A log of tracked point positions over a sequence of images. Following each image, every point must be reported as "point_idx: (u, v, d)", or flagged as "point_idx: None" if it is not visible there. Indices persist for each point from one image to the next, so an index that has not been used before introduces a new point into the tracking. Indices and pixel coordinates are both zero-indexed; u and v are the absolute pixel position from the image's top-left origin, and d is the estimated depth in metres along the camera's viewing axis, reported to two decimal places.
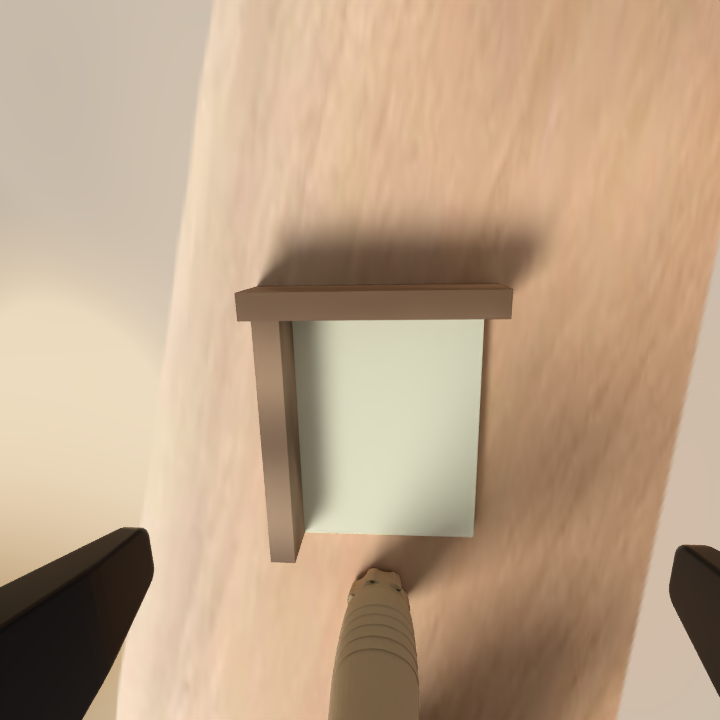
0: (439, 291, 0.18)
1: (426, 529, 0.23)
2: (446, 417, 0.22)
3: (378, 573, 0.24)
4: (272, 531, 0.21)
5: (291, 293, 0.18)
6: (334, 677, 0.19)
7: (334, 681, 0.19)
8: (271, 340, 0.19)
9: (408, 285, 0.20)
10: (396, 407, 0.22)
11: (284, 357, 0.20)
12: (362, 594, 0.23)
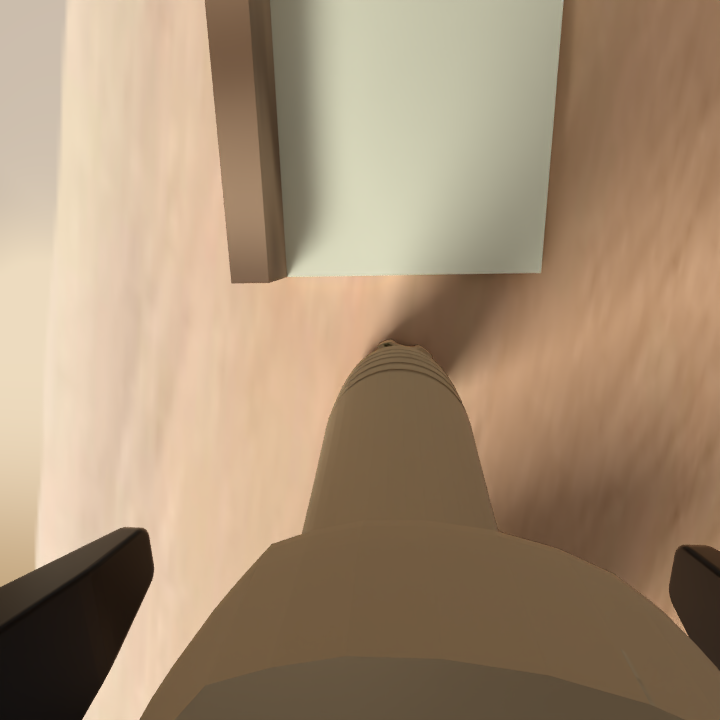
0: None
1: (469, 262, 0.15)
2: (507, 53, 0.14)
3: (396, 343, 0.16)
4: (231, 225, 0.13)
5: None
6: (330, 417, 0.11)
7: (329, 419, 0.11)
8: None
9: None
10: (428, 40, 0.14)
11: None
12: (373, 352, 0.15)
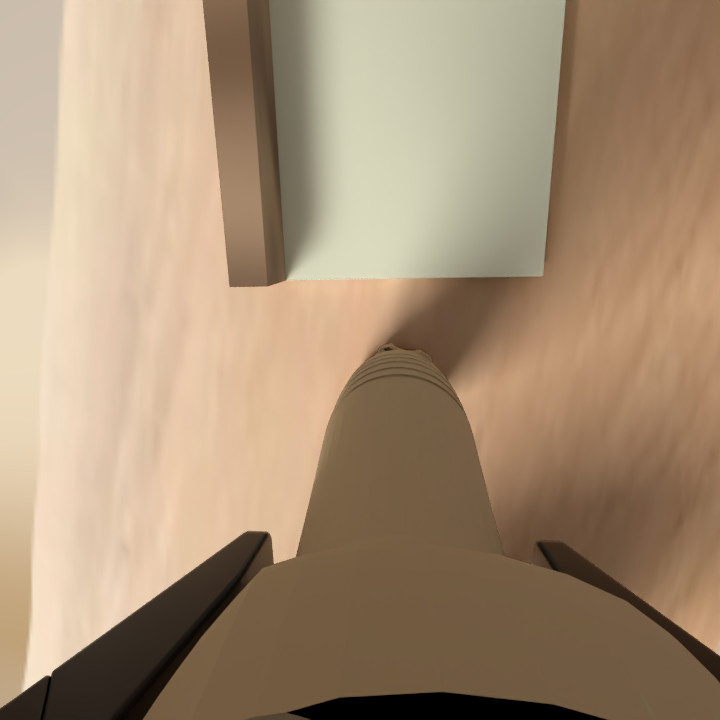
0: None
1: (471, 265, 0.15)
2: (508, 55, 0.14)
3: (396, 347, 0.16)
4: (229, 228, 0.13)
5: None
6: (329, 423, 0.11)
7: (328, 425, 0.11)
8: None
9: None
10: (428, 41, 0.14)
11: None
12: (373, 356, 0.15)
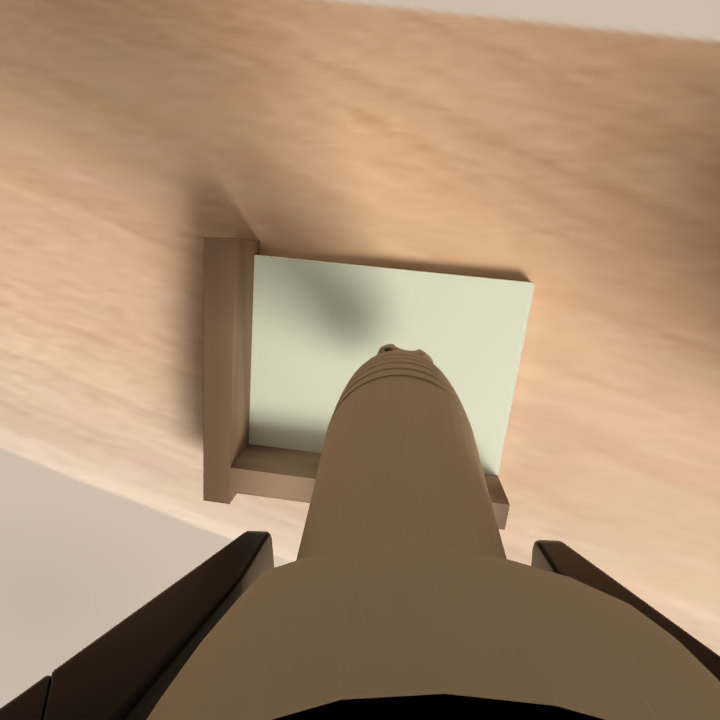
0: (204, 312, 0.18)
1: (514, 339, 0.19)
2: (370, 303, 0.19)
3: (397, 347, 0.16)
4: None
5: (204, 451, 0.19)
6: (329, 424, 0.11)
7: (329, 426, 0.11)
8: (249, 478, 0.19)
9: None
10: (354, 356, 0.20)
11: (273, 466, 0.20)
12: (374, 357, 0.15)
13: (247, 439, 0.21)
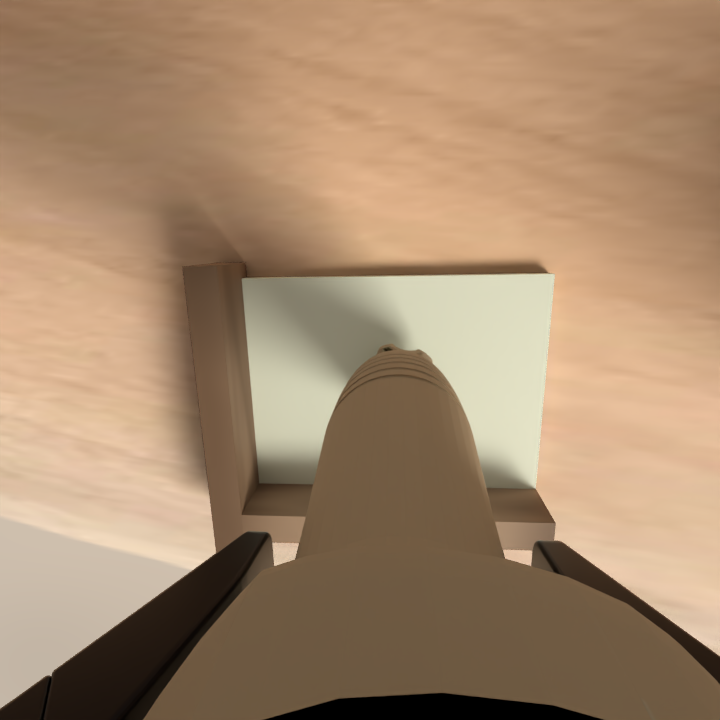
0: (193, 349, 0.16)
1: (538, 338, 0.17)
2: (375, 317, 0.17)
3: (396, 347, 0.16)
4: (506, 545, 0.17)
5: (210, 500, 0.17)
6: (328, 423, 0.11)
7: (328, 426, 0.11)
8: (263, 524, 0.17)
9: None
10: None
11: (288, 507, 0.18)
12: (373, 356, 0.15)
13: (257, 479, 0.19)
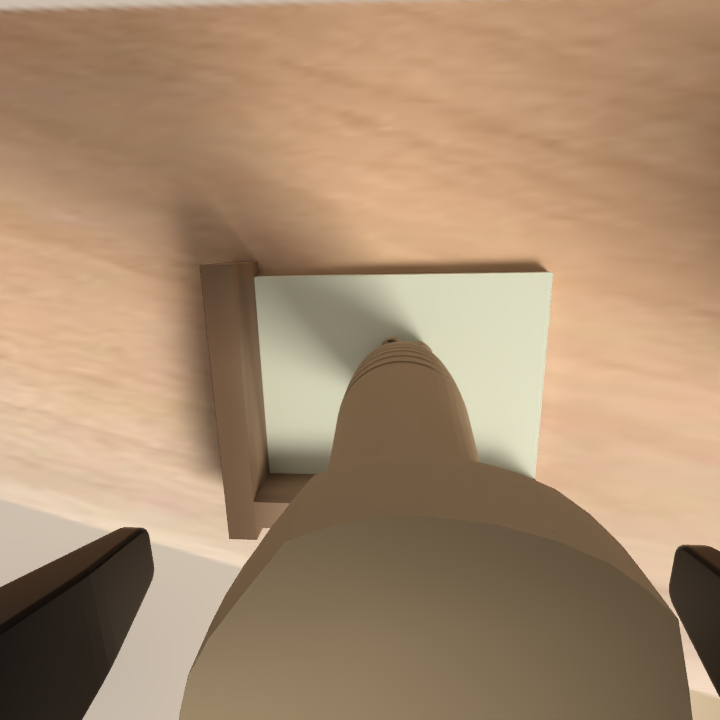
0: (209, 343, 0.17)
1: (537, 334, 0.18)
2: (381, 313, 0.18)
3: (399, 339, 0.18)
4: None
5: (224, 488, 0.18)
6: (341, 405, 0.13)
7: (341, 406, 0.13)
8: (274, 510, 0.18)
9: None
10: None
11: None
12: (378, 347, 0.16)
13: (267, 468, 0.20)
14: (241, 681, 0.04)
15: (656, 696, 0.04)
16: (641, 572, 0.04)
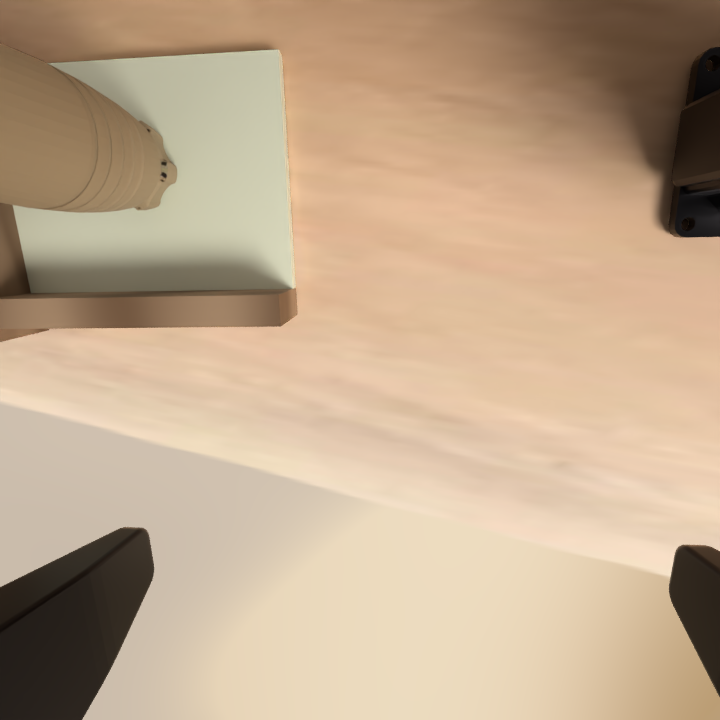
0: None
1: (272, 121, 0.17)
2: None
3: None
4: (236, 322, 0.17)
5: None
6: None
7: None
8: (5, 308, 0.18)
9: None
10: None
11: (35, 297, 0.18)
12: None
13: (25, 286, 0.20)
14: None
15: None
16: None
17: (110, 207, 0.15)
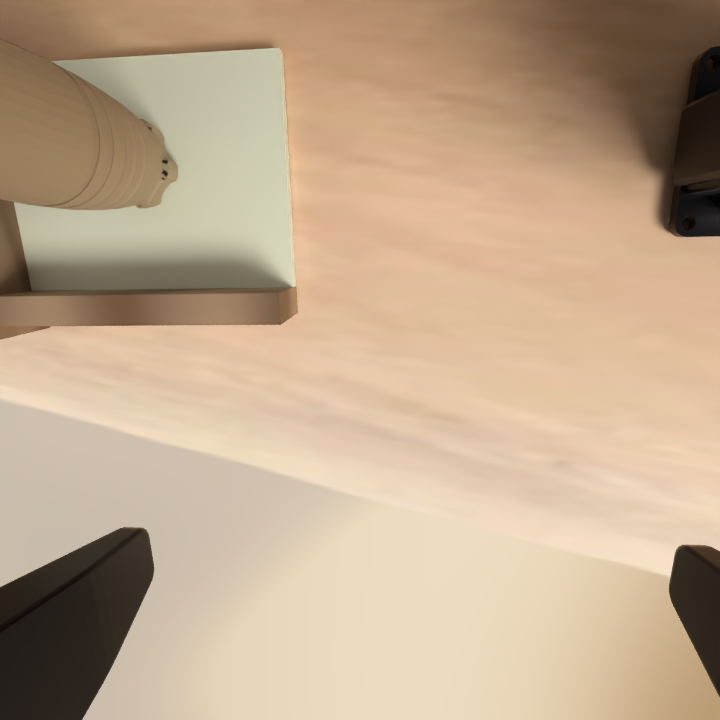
0: None
1: (273, 119, 0.17)
2: None
3: None
4: (237, 320, 0.17)
5: None
6: None
7: None
8: (6, 306, 0.18)
9: None
10: None
11: (36, 294, 0.18)
12: None
13: (26, 283, 0.20)
14: None
15: None
16: None
17: (111, 205, 0.15)
